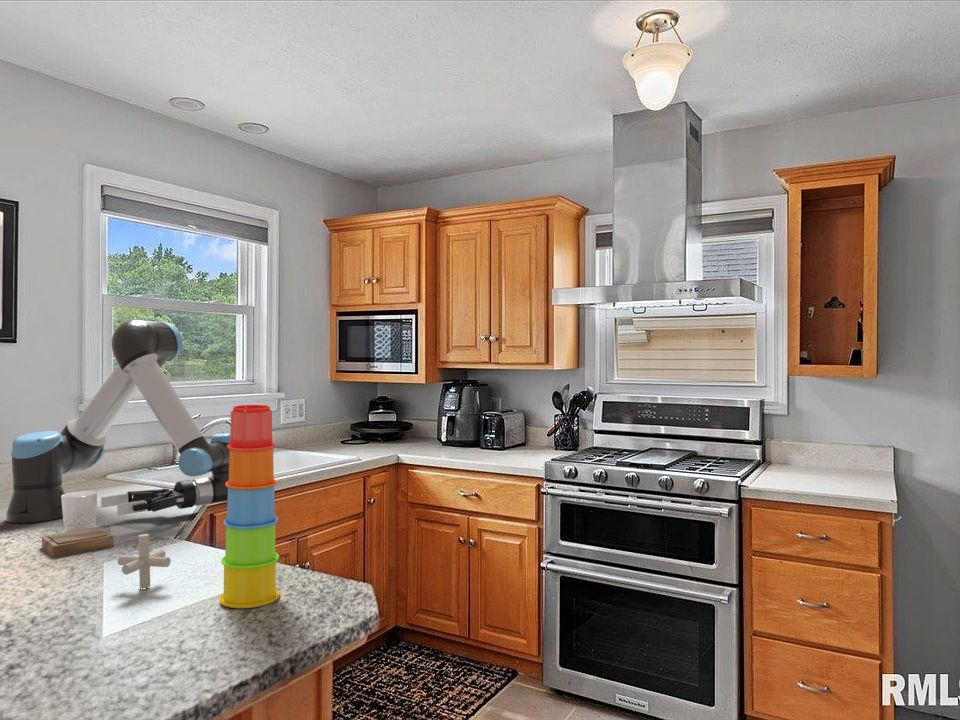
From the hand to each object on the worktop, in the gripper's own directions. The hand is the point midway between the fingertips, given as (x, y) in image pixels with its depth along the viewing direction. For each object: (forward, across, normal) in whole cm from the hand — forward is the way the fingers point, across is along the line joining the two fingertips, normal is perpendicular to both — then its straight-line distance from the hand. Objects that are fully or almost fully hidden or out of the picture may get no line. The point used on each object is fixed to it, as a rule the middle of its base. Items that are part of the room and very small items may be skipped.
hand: (109, 506), depth 180 cm
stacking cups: (-1, -78, -6) cm, 78 cm away
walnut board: (+11, -13, -6) cm, 18 cm away
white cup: (+7, +1, -6) cm, 9 cm away
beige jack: (+10, -56, -6) cm, 58 cm away
